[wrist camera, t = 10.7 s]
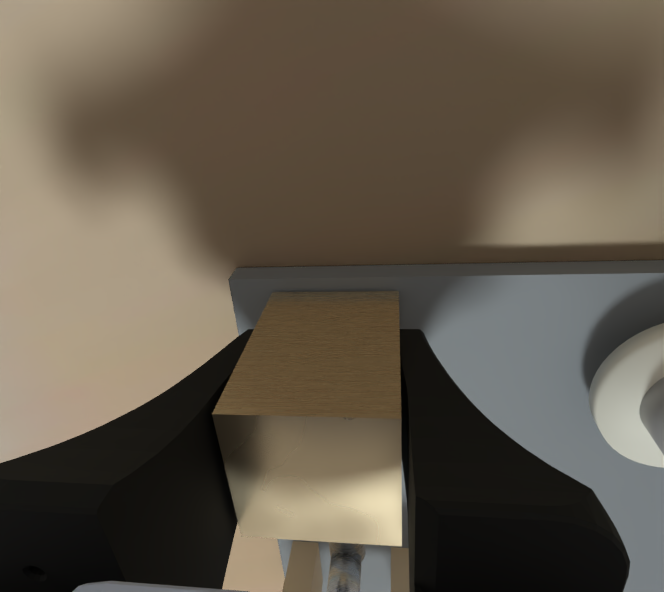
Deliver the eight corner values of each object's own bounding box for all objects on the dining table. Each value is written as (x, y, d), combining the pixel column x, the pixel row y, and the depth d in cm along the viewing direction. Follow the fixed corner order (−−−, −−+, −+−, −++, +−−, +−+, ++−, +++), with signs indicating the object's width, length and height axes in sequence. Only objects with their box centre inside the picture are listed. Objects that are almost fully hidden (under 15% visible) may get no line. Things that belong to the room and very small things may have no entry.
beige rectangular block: (400, 520, 17) (402, 685, 13) (304, 514, 17) (274, 672, 13) (398, 290, 13) (401, 418, 8) (272, 292, 13) (211, 413, 9)
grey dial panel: (659, 604, 19) (758, 811, 14) (291, 577, 21) (258, 749, 16) (806, 257, 12) (1113, 412, 7) (236, 267, 14) (146, 394, 9)
